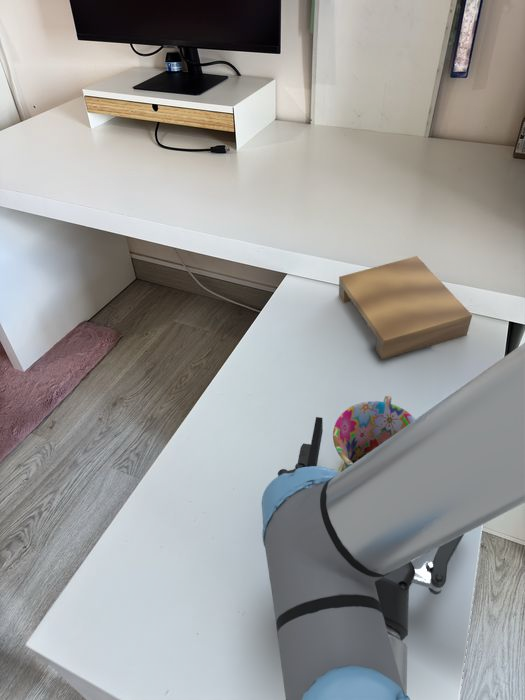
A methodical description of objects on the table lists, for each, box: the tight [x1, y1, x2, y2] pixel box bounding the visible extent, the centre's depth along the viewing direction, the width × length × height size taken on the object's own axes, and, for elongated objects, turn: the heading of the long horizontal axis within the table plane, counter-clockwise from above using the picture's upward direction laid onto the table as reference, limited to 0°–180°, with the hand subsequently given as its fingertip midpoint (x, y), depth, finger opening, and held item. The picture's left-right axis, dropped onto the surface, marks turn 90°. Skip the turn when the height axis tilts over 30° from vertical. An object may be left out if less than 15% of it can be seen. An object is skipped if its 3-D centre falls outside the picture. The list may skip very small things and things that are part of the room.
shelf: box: [338, 255, 473, 361], centre depth 79 cm, size 16×14×4 cm
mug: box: [332, 395, 416, 473], centre depth 57 cm, size 12×9×11 cm
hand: (378, 431), depth 58 cm, fingers open, 13 cm apart
